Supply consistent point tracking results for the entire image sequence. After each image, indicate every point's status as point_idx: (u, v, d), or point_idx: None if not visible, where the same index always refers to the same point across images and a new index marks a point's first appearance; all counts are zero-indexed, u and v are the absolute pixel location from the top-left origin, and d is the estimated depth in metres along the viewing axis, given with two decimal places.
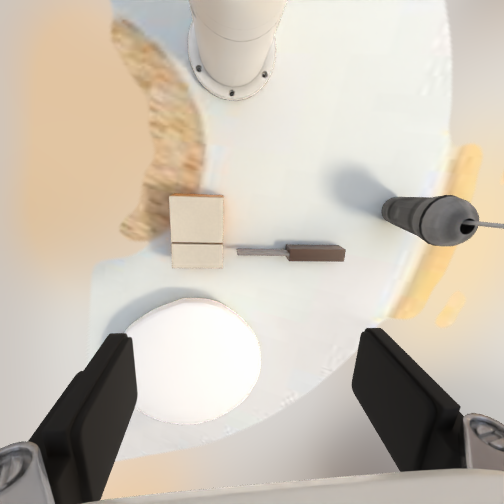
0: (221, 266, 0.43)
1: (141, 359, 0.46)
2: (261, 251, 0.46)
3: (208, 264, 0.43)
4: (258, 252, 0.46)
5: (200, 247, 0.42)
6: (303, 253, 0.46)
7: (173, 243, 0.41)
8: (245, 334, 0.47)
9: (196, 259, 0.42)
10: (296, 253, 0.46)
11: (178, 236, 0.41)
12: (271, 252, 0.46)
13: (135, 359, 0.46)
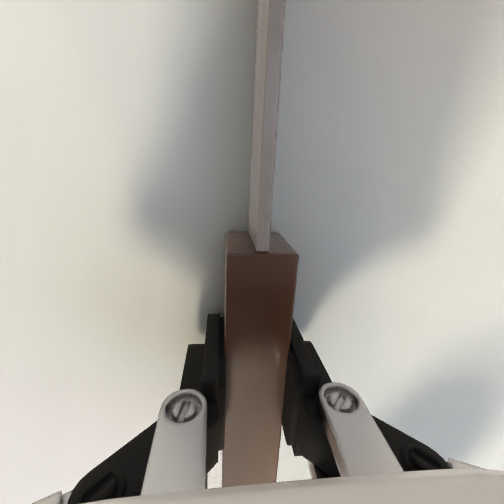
0: None
1: None
2: None
3: None
4: None
5: None
6: (269, 325, 0.09)
7: None
8: None
9: None
10: (271, 290, 0.08)
11: None
12: None
13: None
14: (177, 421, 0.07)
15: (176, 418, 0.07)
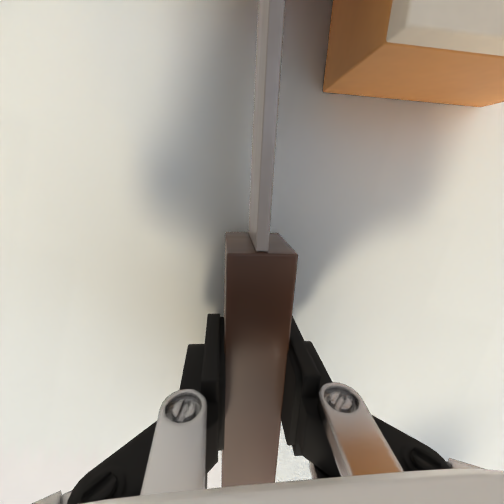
0: None
1: None
2: None
3: None
4: None
5: None
6: (268, 324, 0.09)
7: None
8: None
9: None
10: (270, 290, 0.08)
11: None
12: None
13: None
14: (177, 421, 0.07)
15: (176, 418, 0.07)
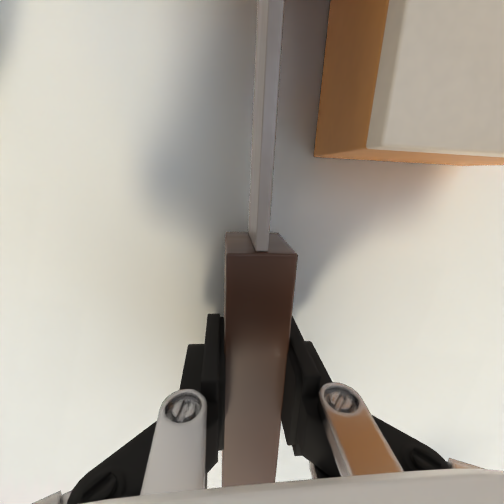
0: None
1: None
2: None
3: None
4: None
5: None
6: (268, 324, 0.09)
7: None
8: None
9: None
10: (270, 290, 0.08)
11: None
12: None
13: None
14: (177, 421, 0.07)
15: (176, 418, 0.07)
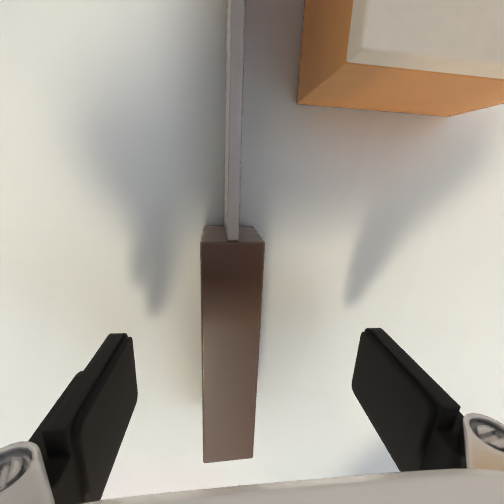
0: None
1: None
2: None
3: None
4: None
5: None
6: (240, 306, 0.10)
7: None
8: None
9: None
10: (241, 275, 0.09)
11: None
12: None
13: None
14: None
15: None
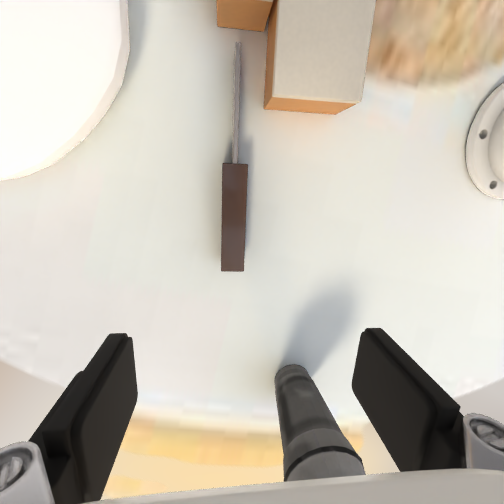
0: None
1: None
2: None
3: None
4: None
5: None
6: (238, 192, 0.24)
7: None
8: (43, 141, 0.19)
9: None
10: (238, 178, 0.23)
11: None
12: None
13: None
14: None
15: None
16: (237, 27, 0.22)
